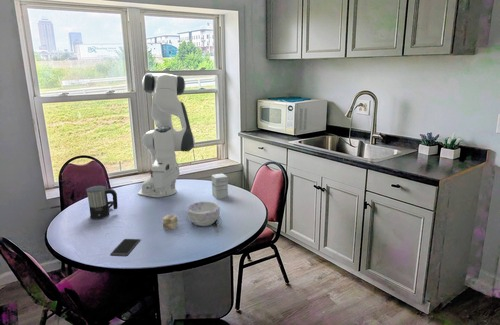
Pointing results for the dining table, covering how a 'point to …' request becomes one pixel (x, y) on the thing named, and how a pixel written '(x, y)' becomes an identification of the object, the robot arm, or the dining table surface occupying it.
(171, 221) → the maple block
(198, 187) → the dining table surface
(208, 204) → the paper bowls
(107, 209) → the milk frother
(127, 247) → the cell phone
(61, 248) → the dining table surface
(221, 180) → the supplement box
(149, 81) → the robot arm
